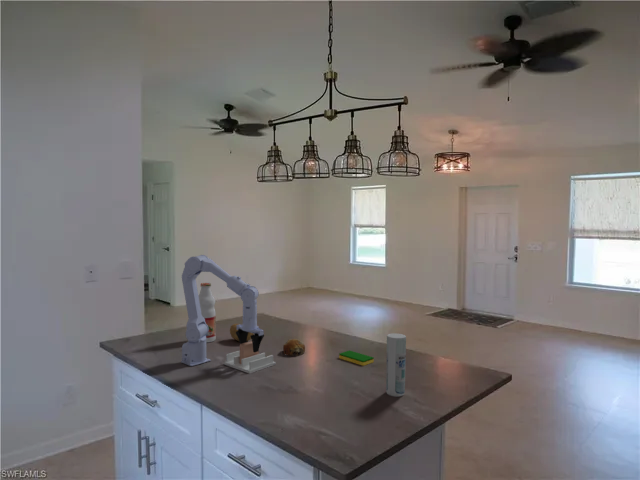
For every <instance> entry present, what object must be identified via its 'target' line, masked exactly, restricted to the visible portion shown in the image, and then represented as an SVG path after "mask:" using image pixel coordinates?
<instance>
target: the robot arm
mask: <svg viewBox="0 0 640 480" xmlns="http://www.w3.org/2000/svg"><path fill="white" fill-rule="evenodd" d="M203 272H204V273H211V274H213V275H215V276H216V277H217V278H218V279H220V280H222V281H223V282H225V284H226V287H227V288H228V289H230V290H231V291H232V292H233V293H235V294H236V295H238V296H239V297H240V299H241V301H242V325H241V324H240V323H238V324H239V325H237V330H238V331H236V335H237V336H238V339H239V341H240V342H239V341H238V342H239V345H240V344H243V343H246V342H248V341H247V336H248V332H250V333H254V335H251V336H250V337H251V339H250V340H251V341H252V343H253V352H258V350H260V346H261V343H262V341H263V339H264V337H265V333H264V329H261V328H259V325H258V304H257V303H258V299H257V298H258V297H259V289H257V288H256V286H253V285H251V284H249V283H246V282H245V281H244V280H243V279H242V277H241V276H239V275H238V276H237V275H231V274H230V273H228V272H227V271H226V270H224V268H222V267H221V266H220V265H219V264H217V263H216V262H215V261H214V260H213V259H212V258H210V257H208V256H207V255H205V254H200V255H197V256H196V255H195V256H190V257H189V258H188V259H187V260H186V261H185V262H184V268H183V271H182V273H181V283H182V287H183V293H184V299H185V300H184V301H185V307H186V311H187V318H188V320H187V322H186V330H185V337H186V339H187V340H188V341H187V342H184V343H182V346H181V360H180V363H182V364H185V365H187V366H190V367H195V366H198V365H200V364H204V363H207V362H211V361H212V360H211V359H210V358H207V343H206V335H207V334H208V331H209V328H208V325H207V324H206V322H205V319H204V317H203V316H202V314H201V308H200V302H199V291H198V285H197V278H198V277H199V275H200V274H201V273H203Z"/></svg>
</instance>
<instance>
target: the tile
mask: <svg viewBox="0 0 640 480" xmlns="http://www.w3.org/2000/svg"><path fill="white" fill-rule="evenodd" d="M259 350H260V349H259ZM259 350H258V352H253V343H252V340H249V341H247V342H246V343H243V344H240V343H239V351H240V364H241V359H244V358H247V357H251V356H254V355H257V354H260V351H259Z"/></svg>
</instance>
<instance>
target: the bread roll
mask: <svg viewBox="0 0 640 480" xmlns="http://www.w3.org/2000/svg"><path fill="white" fill-rule="evenodd" d="M282 346H283V347H282V349H283V354H284V355H285V356H287V357H288V356H290V357H297V356H301V355H303V354H304V353H305V351H306V346H305V344H304V341H302V340H300V339H298V338H291V339H288V340H287V341H286V342H285V343H284V344H283V345H282Z"/></svg>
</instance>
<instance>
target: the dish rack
mask: <svg viewBox="0 0 640 480" xmlns="http://www.w3.org/2000/svg"><path fill="white" fill-rule="evenodd" d="M276 363H277V362H276V361H274V355H273V354H270V355H267V356H266V352H262V353H259V354H257V355H254V356H251V357H247V358H244V359H241V364H240V350H236V351H233V352H230V353H226V355H225V361H223V365H225V366H226V367H230V368H233V369H236V370H239V371H242V372H244V373H247V374H252V373H255V372H258V371H261V370H264V369H266V368H267V369H268V368H269V367H273V366H276Z"/></svg>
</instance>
